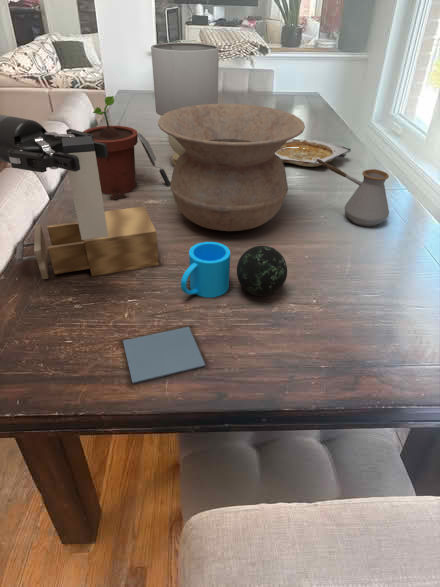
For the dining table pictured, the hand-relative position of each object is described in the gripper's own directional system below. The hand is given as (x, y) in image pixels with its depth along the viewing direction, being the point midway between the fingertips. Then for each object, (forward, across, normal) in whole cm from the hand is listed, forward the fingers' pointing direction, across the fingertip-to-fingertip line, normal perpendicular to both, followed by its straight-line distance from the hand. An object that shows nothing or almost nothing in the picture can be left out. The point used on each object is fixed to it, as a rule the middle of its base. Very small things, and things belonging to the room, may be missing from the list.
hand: (92, 157), depth 64 cm
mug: (+13, -12, -29) cm, 34 cm away
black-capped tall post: (-2, 0, -14) cm, 14 cm away
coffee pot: (+32, -59, -29) cm, 73 cm away
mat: (+15, +8, -29) cm, 33 cm away
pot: (+4, -44, -29) cm, 53 cm away
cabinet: (-10, -15, -29) cm, 34 cm away
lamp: (-26, -75, -29) cm, 84 cm away
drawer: (-18, -6, -28) cm, 34 cm away
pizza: (+8, -99, -29) cm, 103 cm away
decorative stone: (+24, -17, -29) cm, 41 cm away
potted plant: (-32, -47, -29) cm, 64 cm away
